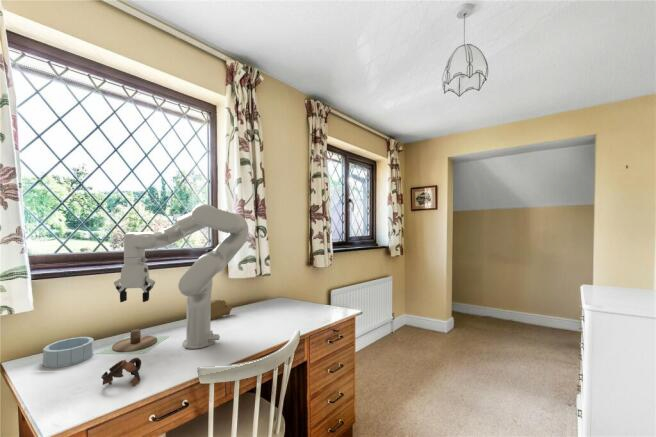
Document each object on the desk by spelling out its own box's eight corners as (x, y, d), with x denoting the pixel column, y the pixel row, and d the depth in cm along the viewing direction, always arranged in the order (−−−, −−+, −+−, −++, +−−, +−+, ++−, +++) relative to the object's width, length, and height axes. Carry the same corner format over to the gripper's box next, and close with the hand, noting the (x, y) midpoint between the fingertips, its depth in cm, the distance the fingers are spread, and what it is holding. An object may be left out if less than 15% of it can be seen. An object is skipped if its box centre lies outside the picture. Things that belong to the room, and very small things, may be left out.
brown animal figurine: (130, 393, 91) (113, 372, 90) (106, 404, 93) (90, 384, 91) (154, 365, 103) (140, 346, 101) (133, 375, 104) (119, 357, 103)
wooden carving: (228, 314, 172) (229, 296, 172) (232, 316, 169) (232, 298, 169) (199, 320, 161) (199, 301, 161) (202, 322, 158) (202, 303, 158)
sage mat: (169, 337, 136) (169, 336, 136) (143, 354, 117) (143, 353, 117) (128, 336, 137) (128, 336, 137) (95, 354, 118) (95, 353, 118)
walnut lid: (164, 337, 135) (164, 324, 135) (142, 352, 119) (142, 337, 119) (129, 337, 135) (129, 324, 135) (102, 352, 119) (102, 337, 119)
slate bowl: (101, 352, 120) (102, 337, 120) (71, 368, 106) (71, 351, 106) (67, 352, 120) (67, 336, 120) (32, 368, 106) (32, 351, 106)
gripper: (159, 259, 132) (159, 299, 131) (121, 260, 132) (121, 299, 132) (148, 261, 124) (148, 303, 124) (108, 262, 125) (108, 303, 124)
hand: (134, 301), depth 128 cm, fingers open, 9 cm apart
